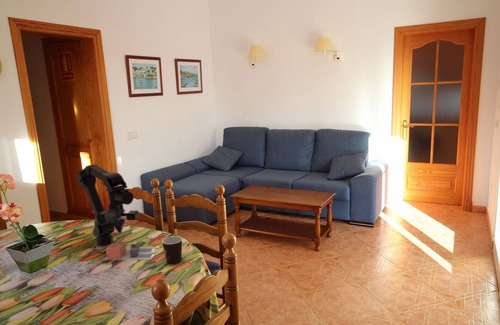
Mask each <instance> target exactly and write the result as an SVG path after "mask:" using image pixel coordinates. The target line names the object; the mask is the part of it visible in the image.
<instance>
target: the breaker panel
mask: <svg viewBox="0 0 500 325" xmlns="http://www.w3.org/2000/svg"><path fill="white" fill-rule="evenodd" d="M125 248H126V254H125V255H124V256H123V257H122V258H121V259H107V256H106V257H105V258H104V259H103V260H104V261H110V260H111V261H114V260H115V261H121V260H127V261H128V260H130V261H131V260H132V261H133V260H134V261H135V260H137V261H139V260H153V258H154V257H155V256H156V254H157V253H158V252H159V251H160V249H161V246H159V245H156V246H139V249H138V253H139V254H138V255H137V256H136V257H131V255H130V250H131V246H128V247H126V246H125Z"/></svg>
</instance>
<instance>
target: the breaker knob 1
mask: <svg viewBox="0 0 500 325" xmlns="http://www.w3.org/2000/svg"><path fill="white" fill-rule="evenodd" d="M130 247H131V249H132V248H137V247H138V249H139V247H140V243H139V241H133V242H132V243H131V244H130Z"/></svg>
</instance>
